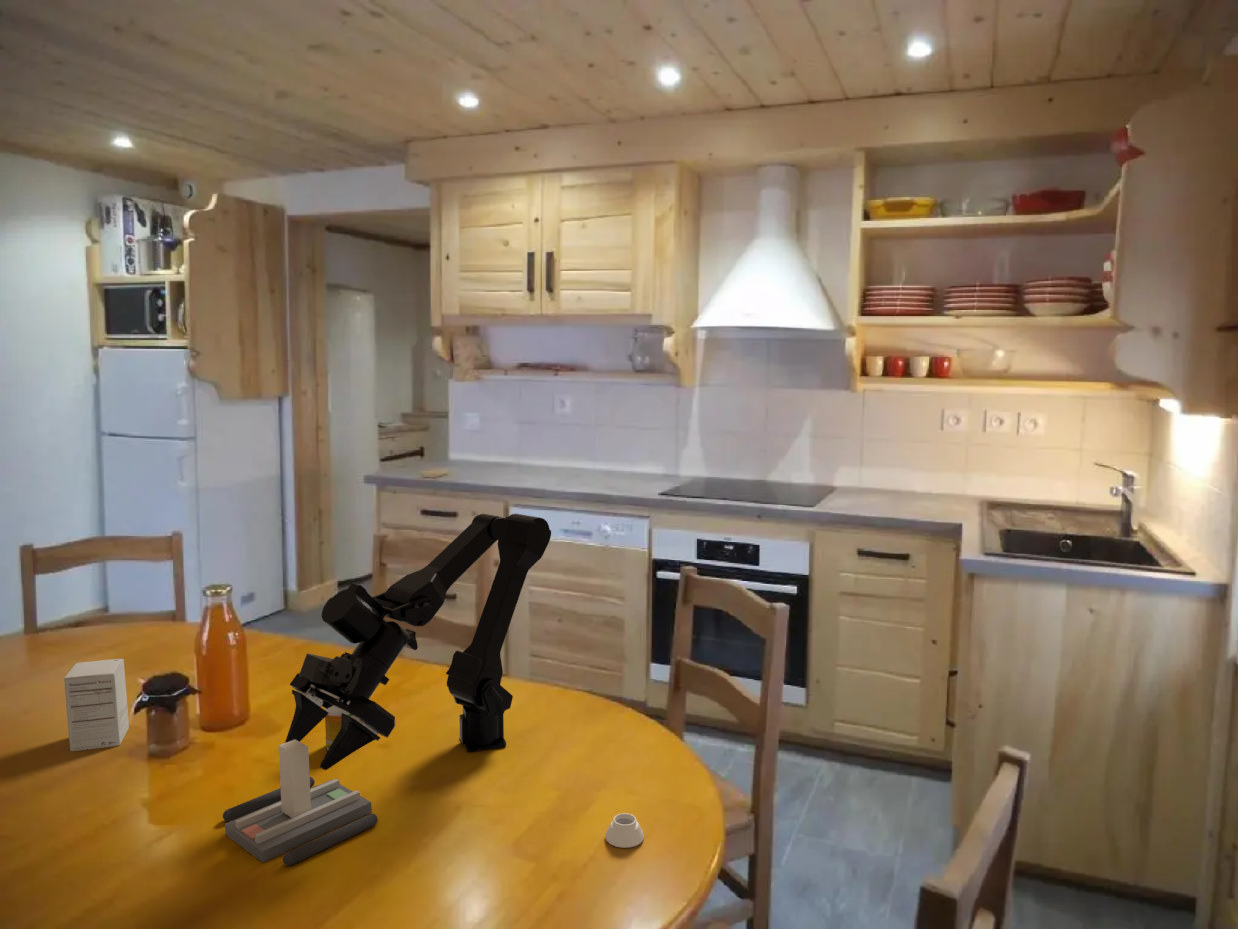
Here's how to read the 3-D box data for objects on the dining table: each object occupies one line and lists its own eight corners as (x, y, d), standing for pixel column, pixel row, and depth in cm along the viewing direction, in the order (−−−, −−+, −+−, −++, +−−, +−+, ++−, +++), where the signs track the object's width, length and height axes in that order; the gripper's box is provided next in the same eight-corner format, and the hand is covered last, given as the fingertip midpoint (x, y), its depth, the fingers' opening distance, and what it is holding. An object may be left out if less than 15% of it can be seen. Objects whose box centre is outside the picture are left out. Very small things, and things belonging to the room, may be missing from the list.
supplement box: (81, 733, 146) (75, 662, 144) (130, 728, 148) (125, 657, 146) (68, 752, 139) (62, 677, 137) (120, 746, 141) (114, 672, 139)
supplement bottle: (350, 755, 138) (348, 697, 137) (319, 752, 139) (317, 694, 138) (366, 741, 143) (364, 685, 142) (337, 738, 145) (334, 682, 143)
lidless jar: (650, 838, 115) (621, 825, 118) (651, 818, 115) (622, 805, 118) (627, 855, 111) (598, 841, 114) (627, 833, 111) (598, 820, 114)
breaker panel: (332, 789, 127) (331, 773, 127) (371, 812, 121) (371, 795, 121) (225, 834, 115) (224, 816, 115) (262, 862, 109) (261, 844, 109)
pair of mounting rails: (311, 784, 129) (310, 773, 129) (380, 825, 118) (380, 814, 118) (220, 821, 119) (220, 810, 118) (287, 870, 107) (286, 858, 107)
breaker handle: (297, 804, 120) (295, 739, 118) (311, 812, 117) (308, 746, 116) (281, 811, 118) (278, 745, 117) (294, 820, 116) (291, 752, 114)
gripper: (300, 617, 126) (228, 712, 119) (374, 645, 114) (300, 753, 107) (348, 656, 133) (284, 748, 126) (424, 685, 121) (357, 789, 114)
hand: (304, 758), depth 118 cm, fingers open, 9 cm apart
